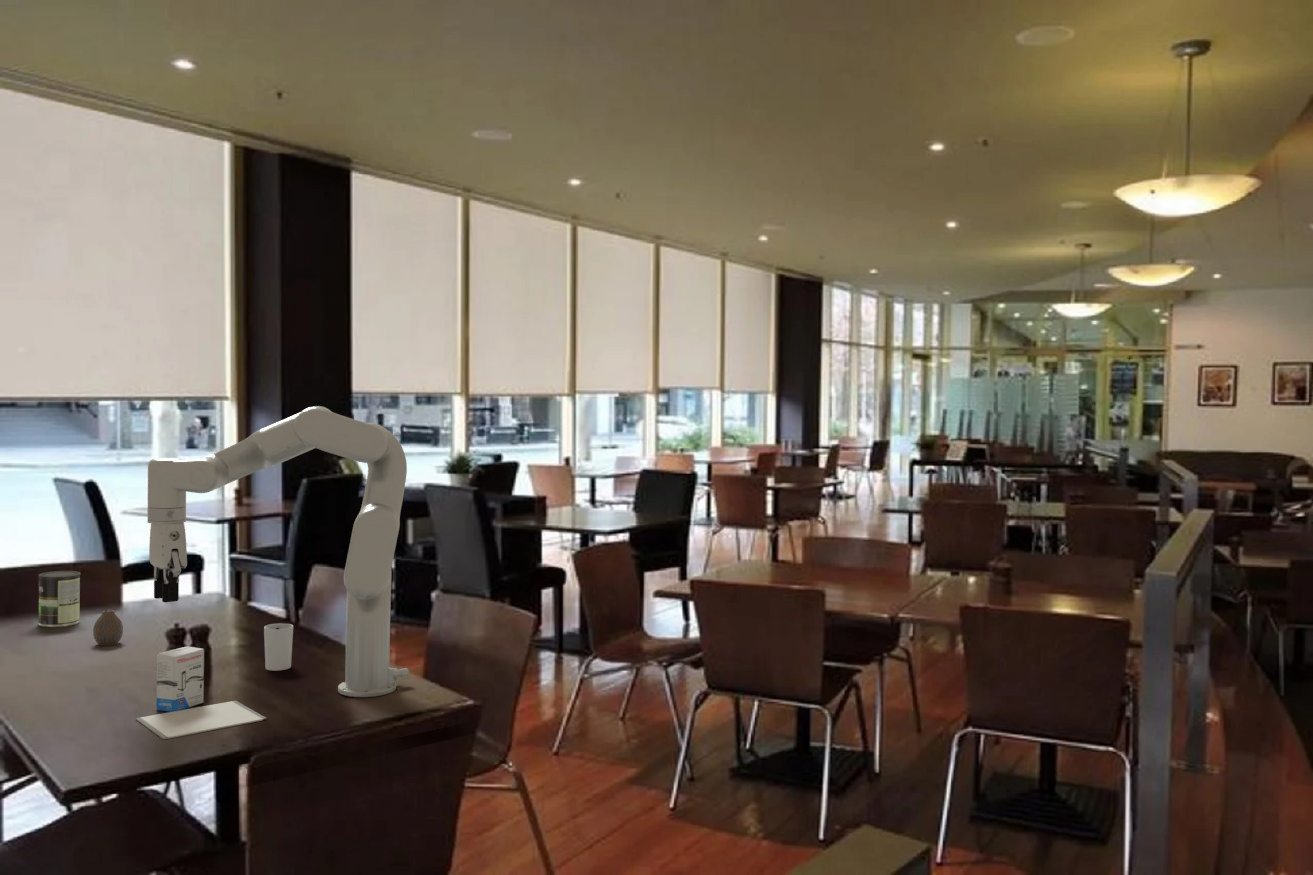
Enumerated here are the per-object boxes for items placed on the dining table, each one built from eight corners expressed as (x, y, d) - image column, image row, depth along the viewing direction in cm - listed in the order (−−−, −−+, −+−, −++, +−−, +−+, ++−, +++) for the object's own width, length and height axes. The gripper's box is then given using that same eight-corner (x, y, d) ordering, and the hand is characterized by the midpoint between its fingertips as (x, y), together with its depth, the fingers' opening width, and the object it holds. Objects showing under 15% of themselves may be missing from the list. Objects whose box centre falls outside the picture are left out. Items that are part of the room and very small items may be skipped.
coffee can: (36, 628, 290) (36, 577, 290) (40, 621, 299) (40, 571, 299) (78, 625, 294) (79, 575, 294) (81, 618, 304) (81, 569, 303)
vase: (107, 648, 270) (107, 614, 270) (86, 645, 272) (87, 612, 272) (129, 642, 276) (129, 609, 276) (108, 640, 279) (108, 607, 278)
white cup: (257, 668, 254) (257, 627, 253) (279, 662, 260) (279, 622, 259) (277, 672, 251) (277, 630, 250) (298, 666, 256) (299, 625, 256)
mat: (235, 701, 226) (235, 700, 226) (266, 719, 214) (266, 718, 214) (135, 719, 212) (135, 718, 212) (163, 739, 201) (163, 738, 201)
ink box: (173, 713, 217) (174, 656, 217) (155, 710, 219) (155, 654, 218) (204, 702, 225) (205, 647, 225) (186, 699, 227) (187, 645, 227)
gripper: (199, 518, 224) (198, 603, 224) (171, 510, 236) (170, 592, 237) (162, 520, 219) (161, 608, 219) (135, 512, 231) (134, 595, 231)
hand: (166, 598), depth 228 cm, fingers open, 4 cm apart
